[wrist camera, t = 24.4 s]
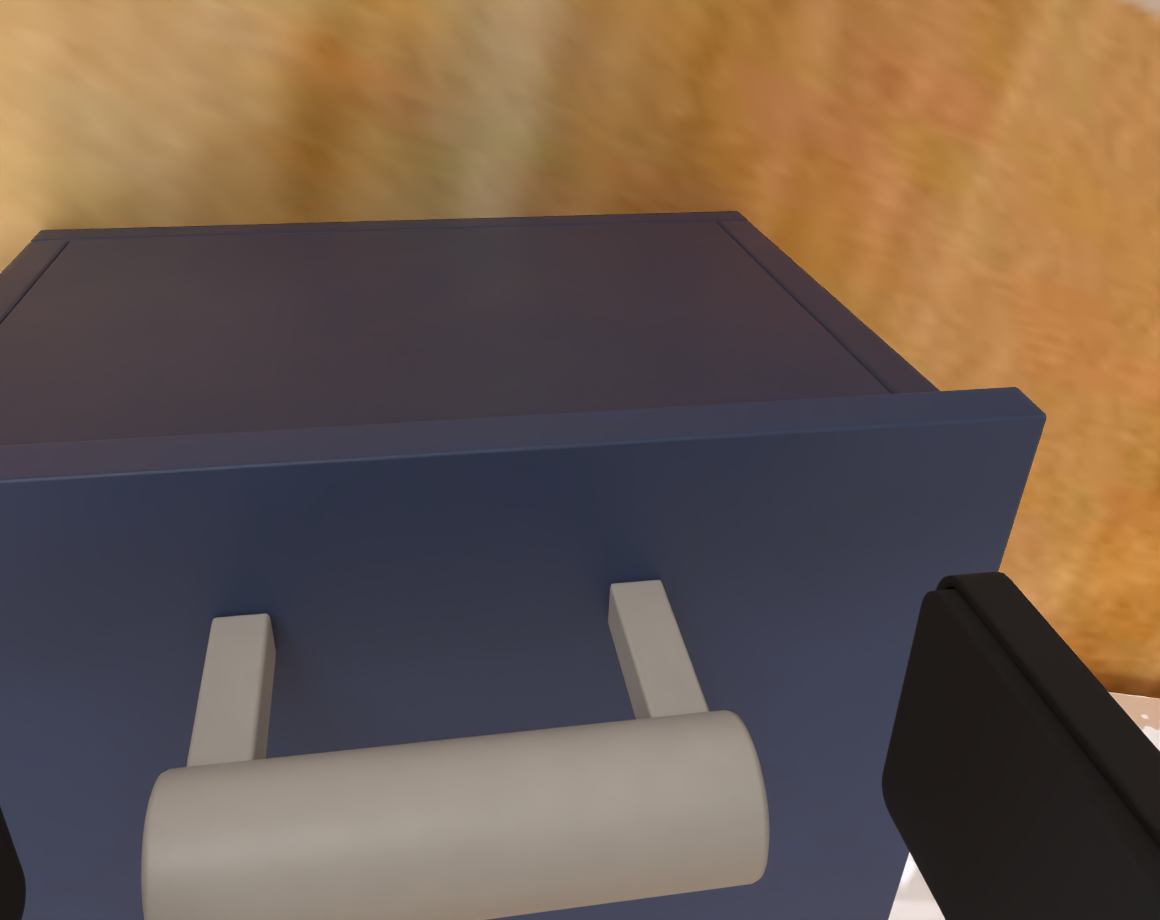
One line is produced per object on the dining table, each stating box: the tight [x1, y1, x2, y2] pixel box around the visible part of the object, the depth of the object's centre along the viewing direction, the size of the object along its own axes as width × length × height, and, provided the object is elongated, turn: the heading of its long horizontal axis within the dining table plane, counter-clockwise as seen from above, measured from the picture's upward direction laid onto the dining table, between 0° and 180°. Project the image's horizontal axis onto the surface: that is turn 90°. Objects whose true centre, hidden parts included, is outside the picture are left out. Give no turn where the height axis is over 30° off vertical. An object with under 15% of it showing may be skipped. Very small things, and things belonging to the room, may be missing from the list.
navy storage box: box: [0, 211, 940, 446], centre depth 23 cm, size 16×16×11 cm
